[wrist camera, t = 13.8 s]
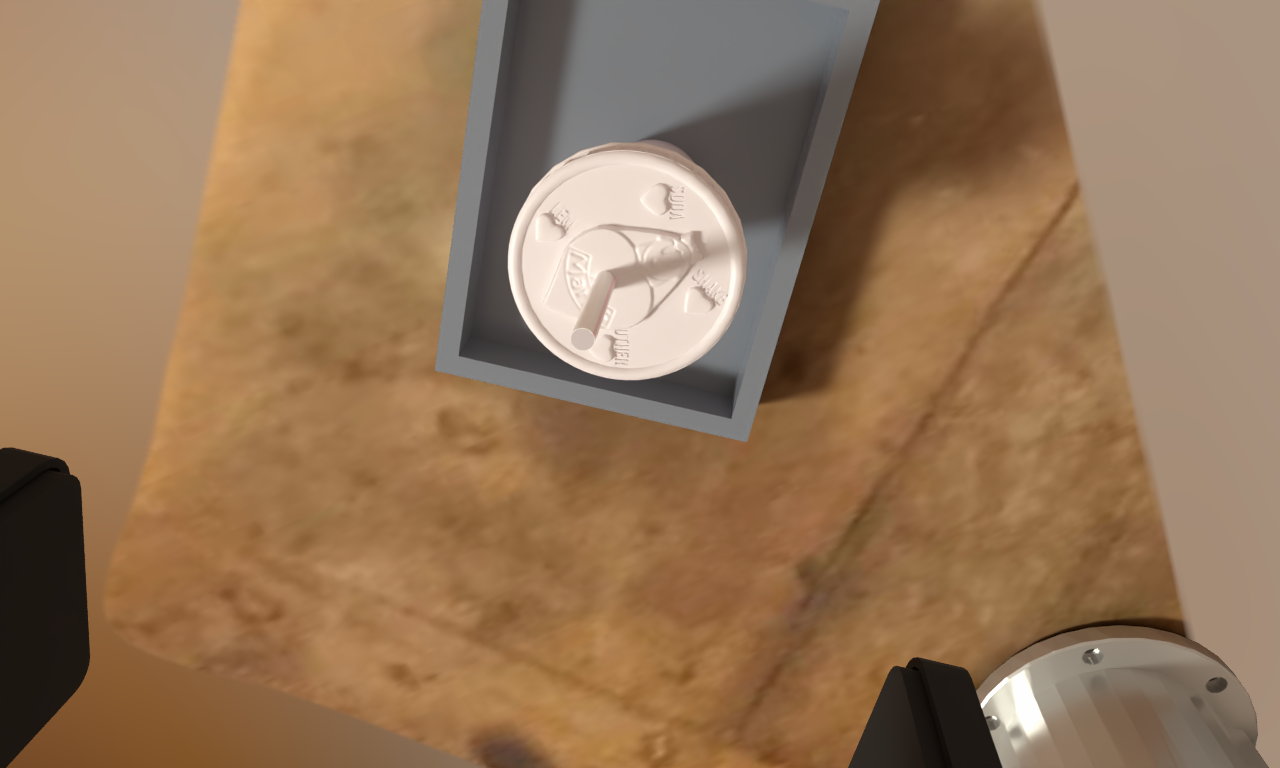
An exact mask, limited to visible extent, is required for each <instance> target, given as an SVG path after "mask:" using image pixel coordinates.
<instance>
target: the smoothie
mask: <svg viewBox="0 0 1280 768" xmlns="http://www.w3.org/2000/svg"><path fill="white" fill-rule="evenodd" d="M746 266H747V247H746V242H745V238H744V233H743V229H742V224H741V220H740V218H739V216H738V214H737V212H736V211H735V209H734V207H733V205H732V203H731V201H730V199H729V198H728V196H727V194H726V192H725V191H724V190H723V189H722V188H721V187H720V186H719V185H718V184H717V183H716V181H715V180H714V179H713V178H712V177H711V176H710V175H709V174H708V173H707V172H706V171H705V170H704V169H703V168H701V167H700V166H698V165H696V164H695V163H694V162H693V160H692V159H691V158H690V157H689V156H688V155H687V154H686V153H685V152H684V151H683V150H681V149H680V148H678V147H677V146H675V145H673V144H671V143H668V142H665V141H661V140H641V141H637V142H634V143H622V142H611V143H607V144H604V145H600V146H596V147H592V148H588V149H585V150H581V151H579V152H577V153H576V154H574V155H572V156H571V157H569V158H567V159H565V160H564V161H562V162H560V163H559V164H557V165H555V166H554V167H553V168H552V169H551V170H550V171H549V172H548V173H547V174H546V175H545V176H544V177H543V178H542V179H541V180H540V181H539V182H538V183H537V184H536V185H535V186H534V188H533V189H532V190H531V192H530V194H529V196H528V198H527V200H526V202H525V203H524V205H523V207H522V209H521V210H520V212H519V214H518V216H517V219H516V221H515V224H514V227H513V230H512V233H511V237H510V243H509V250H508V273H509V281H510V286H511V290H512V293H513V297H514V300H515V302H516V305H517V307H518V309H519V312H520V314H521V315H522V317H523V319H524V321H525V322H526V324H527V325H528V327H529V328H530V330H531V331H532V332H533V334H534V335H535V336H536V337H537V339H538V340H539V341H540V342H541V343H542V344H543V345H544V346H545V347H546V348H548V349H549V350H550V351H551V352H552V353H553V354H555V355H556V356H558V357H559V358H560V359H562V360H563V361H565V362H567V363H568V364H570V365H572V366H574V367H576V368H578V369H580V370H582V371H585V372H588V373H590V374H593V375H597V376H601V377H605V378H610V379H618V380H642V379H650V378H655V377H660V376H663V375H667V374H670V373H673V372H675V371H678V370H680V369H682V368H684V367H686V366H688V365H690V364H691V363H693V362H694V361H696V360H697V359H699V358H700V357H702V356H703V355H704V354H705V353H707V352H708V351H709V350H710V349H711V348H712V347H713V346H714V345H715V344H716V343H717V342H718V341H719V339H720V338H721V337H722V336H723V334H724V333H725V332H726V330H727V329H728V327H729V325H730V324H731V322H732V320H733V318H734V316H735V314H736V312H737V309H738V307H739V304H740V300H741V297H742V293H743V288H744V284H745V281H746Z"/></svg>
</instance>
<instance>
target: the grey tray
mask: <svg viewBox="0 0 1280 768" xmlns="http://www.w3.org/2000/svg"><path fill="white" fill-rule="evenodd" d="M879 2H880V0H483V2H482V10H481V17H480V25H479V33H478V40H477V48H476V56H475V64H474V71H473V79H472V87H471V95H470V102H469V110H468V118H467V126H466V133H465V141H464V149H463V157H462V164H461V172H460V180H459V187H458V195H457V203H456V211H455V218H454V226H453V234H452V242H451V249H450V257H449V265H448V273H447V280H446V288H445V296H444V304H443V311H442V319H441V327H440V335H439V342H438V350H437V358H436V365H435V371H439V372H444V373H448V374H452V375H457V376H461V377H465V378H470V379H474V380H478V381H483V382H487V383H491V384H496V385H500V386H504V387H509V388H513V389H518V390H522V391H526V392H531V393H535V394H539V395H544V396H548V397H552V398H557V399H561V400H565V401H570V402H574V403H578V404H583V405H587V406H591V407H596V408H600V409H604V410H609V411H613V412H617V413H622V414H626V415H631V416H635V417H639V418H644V419H648V420H652V421H657V422H661V423H665V424H670V425H674V426H678V427H683V428H687V429H691V430H696V431H700V432H704V433H709V434H713V435H717V436H722V437H726V438H730V439H735V440H739V441H744V442H747V440H748V437H749V433H750V430H751V427H752V423H753V420H754V417H755V414H756V410H757V407H758V404H759V400H760V397H761V394H762V390H763V387H764V384H765V380H766V377H767V374H768V370H769V367H770V364H771V360H772V357H773V354H774V351H775V347H776V344H777V341H778V337H779V334H780V331H781V327H782V324H783V321H784V317H785V314H786V311H787V307H788V304H789V301H790V297H791V294H792V291H793V288H794V284H795V281H796V278H797V274H798V271H799V268H800V264H801V261H802V258H803V254H804V251H805V248H806V244H807V241H808V238H809V234H810V231H811V228H812V224H813V221H814V218H815V215H816V211H817V208H818V205H819V201H820V198H821V195H822V191H823V188H824V185H825V181H826V178H827V175H828V171H829V168H830V165H831V161H832V158H833V155H834V152H835V148H836V145H837V142H838V138H839V135H840V132H841V128H842V125H843V122H844V118H845V115H846V112H847V108H848V105H849V102H850V98H851V95H852V92H853V89H854V85H855V82H856V79H857V75H858V72H859V69H860V65H861V62H862V59H863V55H864V52H865V49H866V45H867V42H868V39H869V35H870V32H871V29H872V26H873V22H874V19H875V16H876V12H877V9H878V6H879ZM641 140H661V141H665V142H668V143H671V144H673V145H675V146H677V147H678V148H680V149H681V150H683V151H684V152H685V153H686V154H687V155H688V156H689V157H690V158H691V159H692V160H693V162H694V163H695V164H696V165H698V166H700V167H701V168H703V169H704V170H705V171H706V172H707V173H708V174H709V175H710V176H711V177H712V178H713V179H714V180H715V181H716V183H717V184H718V185H719V186H720V187H721V188H722V189H723V190H724V191H725V192H726V194H727V196H728V198H729V199H730V201H731V203H732V205H733V207H734V209H735V211H736V212H737V214H738V216H739V218H740V220H741V224H742V229H743V233H744V238H745V242H746V247H747V266H746V281H745V284H744V288H743V293H742V297H741V300H740V304H739V307H738V309H737V312H736V314H735V316H734V318H733V320H732V322H731V324H730V325H729V327H728V329H727V330H726V332H725V333H724V334H723V336H722V337H721V338H720V339H719V341H718V342H717V343H716V344H715V345H714V346H713V347H712V348H711V349H710V350H709V351H708V352H707V353H705V354H704V355H703V356H702V357H700V358H699V359H697V360H696V361H694V362H693V363H691V364H690V365H688V366H686V367H684V368H682V369H680V370H678V371H675V372H673V373H670V374H667V375H663V376H660V377H655V378H650V379H642V380H618V379H610V378H605V377H601V376H597V375H593V374H590V373H588V372H585V371H582V370H580V369H578V368H576V367H574V366H572V365H570V364H568V363H567V362H565V361H563V360H562V359H560V358H559V357H558V356H556V355H555V354H553V353H552V352H551V351H550V350H549V349H548V348H546V347H545V346H544V345H543V344H542V343H541V342H540V341H539V340H538V339H537V337H536V336H535V335H534V334H533V332H532V331H531V330H530V328H529V327H528V325H527V324H526V322H525V321H524V319H523V317H522V315H521V314H520V312H519V309H518V307H517V305H516V302H515V300H514V297H513V293H512V290H511V286H510V281H509V273H508V250H509V243H510V237H511V233H512V230H513V227H514V224H515V221H516V219H517V216H518V214H519V212H520V210H521V209H522V207H523V205H524V203H525V202H526V200H527V198H528V196H529V194H530V192H531V190H532V189H533V188H534V186H535V185H536V184H537V183H538V182H539V181H540V180H541V179H542V178H543V177H544V176H545V175H546V174H547V173H548V172H549V171H550V170H551V169H552V168H553V167H554V166H555V165H557V164H559V163H560V162H562V161H564V160H565V159H567V158H569V157H571V156H572V155H574V154H576V153H577V152H579V151H581V150H585V149H588V148H592V147H596V146H600V145H604V144H607V143H611V142H622V143H634V142H637V141H641Z"/></svg>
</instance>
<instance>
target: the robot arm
mask: <svg viewBox="0 0 1280 768" xmlns="http://www.w3.org/2000/svg"><path fill="white" fill-rule="evenodd" d="M89 660H90V648H89V630H88V611H87V592H86V573H85V554H84V535H83V516H82V497H81V486H80V482H79V480H78V478H77V477H75V476H73V475H70V472H69V468H68V466H67V465H66V463H65V461H63V460H61V459H59V458H54V457H51V456H46V455H42V454H38V453H33V452H29V451H25V450H20V449H16V448H2V449H0V768H6V767H7V766H8V765H9V764H10V763H11V761H13V759H14V758H15V757H16V756H17V755H18V754H19V753H20V752H21V751H22V750H23V749H24V747H25V746H26V745H27V744H28V743H29V742H30V741H31V740H32V739H33V737H35V735H36V734H37V733H38V732H39V731H40V730H41V729H42V728H43V727H44V725H45V724H46V723H47V722H48V721H49V720H50V719H51V718H52V717H53V716H54V715H55V714H56V713H57V711H58V710H59V709H60V708H61V707H62V706H63V705H64V704H65V703H66V701H67V700H68V699H69V698H70V697H71V696H72V695H73V694H74V693H75V692H76V690H77V689H78V688H79V686H80V685H81V683H82V681H83V680H84V677H85V675H86V673H87V670H88V666H89V662H90V661H89ZM1257 735H1258V734H1257V719H1256V713H1255V710H1254V707H1253V705H1252V702H1251V700H1250V697H1249V695H1248V693H1247V692H1246V690H1245V689H1244V687H1243V686H1242V685H1241V683H1240V682H1239V680H1238V679H1237V677H1236V676H1235V674H1234V673H1233V672H1232V671H1231V670H1230V669H1229V668H1228V666H1227V665H1226V664H1225V663H1224V662H1223V661H1222V660H1221V659H1220V658H1219V657H1218V656H1217V655H1215V654H1214V653H1212V652H1211V651H1209V650H1208V649H1206V648H1205V647H1203V646H1202V645H1200V644H1199V643H1197V642H1194V641H1192V640H1189V639H1187V638H1185V637H1182V636H1180V635H1178V634H1175V633H1171V632H1167V631H1162V630H1158V629H1154V628H1149V627H1137V626H1123V625H1116V626H1103V627H1090V628H1086V629H1081V630H1077V631H1072V632H1068V633H1063V634H1060V635H1057V636H1055V637H1052V638H1050V639H1047V640H1044V641H1042V642H1039V643H1036V644H1034V645H1032V646H1031V647H1029V648H1027V649H1025V650H1023V651H1022V652H1020V653H1018V654H1016V655H1015V656H1013V657H1011V658H1010V659H1009V660H1007V661H1006V662H1005V663H1004V664H1002V665H1001V666H1000V667H999V668H997V669H996V670H995V671H994V672H992V673H991V674H990V676H989V677H988V678H987V679H986V680H985V681H984V683H983V684H982V685H981V686H980V687H979V688H978V689H977V691H976V690H975V687H974V684H973V681H972V678H971V676H970V674H969V673H968V671H967V670H966V669H964V668H962V667H957V666H953V665H949V664H944V663H940V662H936V661H932V660H927V659H923V658H919V657H916V658H912V659H911V660H910V661H909V662H908V664H907V666H906V668H904V667H899V666H894V667H893V668H892V669H891V670H890V672H889V674H888V676H887V678H886V681H885V683H884V685H883V688H882V690H881V692H880V695H879V697H878V699H877V702H876V704H875V706H874V709H873V711H872V713H871V716H870V718H869V720H868V723H867V725H866V727H865V730H864V732H863V734H862V737H861V739H860V741H859V744H858V746H857V748H856V751H855V753H854V755H853V758H852V760H851V762H850V765H849V767H848V768H1269V767H1268V766H1267V765H1266V763H1265V762H1264V760H1263V759H1262V757H1261V756H1260V754H1259V753H1258V751H1257V750H1256V748H1255V745H1256V740H1257Z"/></svg>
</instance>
